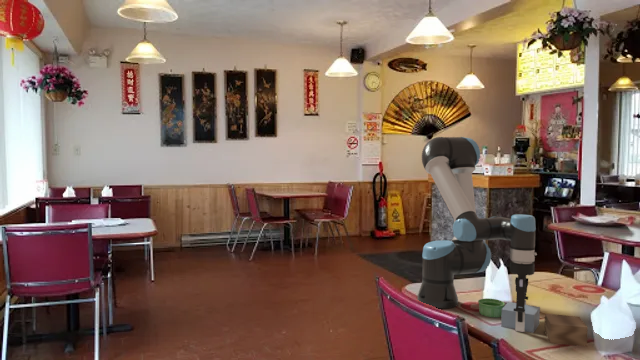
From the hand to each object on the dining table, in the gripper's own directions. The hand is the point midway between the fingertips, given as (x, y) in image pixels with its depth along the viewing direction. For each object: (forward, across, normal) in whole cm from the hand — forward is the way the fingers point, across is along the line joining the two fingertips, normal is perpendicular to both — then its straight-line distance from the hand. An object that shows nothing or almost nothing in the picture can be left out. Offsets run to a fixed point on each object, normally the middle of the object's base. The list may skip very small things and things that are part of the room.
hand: (520, 324), depth 162 cm
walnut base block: (0, -7, -13) cm, 15 cm away
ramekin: (0, +8, +10) cm, 13 cm away
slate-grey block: (0, 0, 0) cm, 0 cm away
